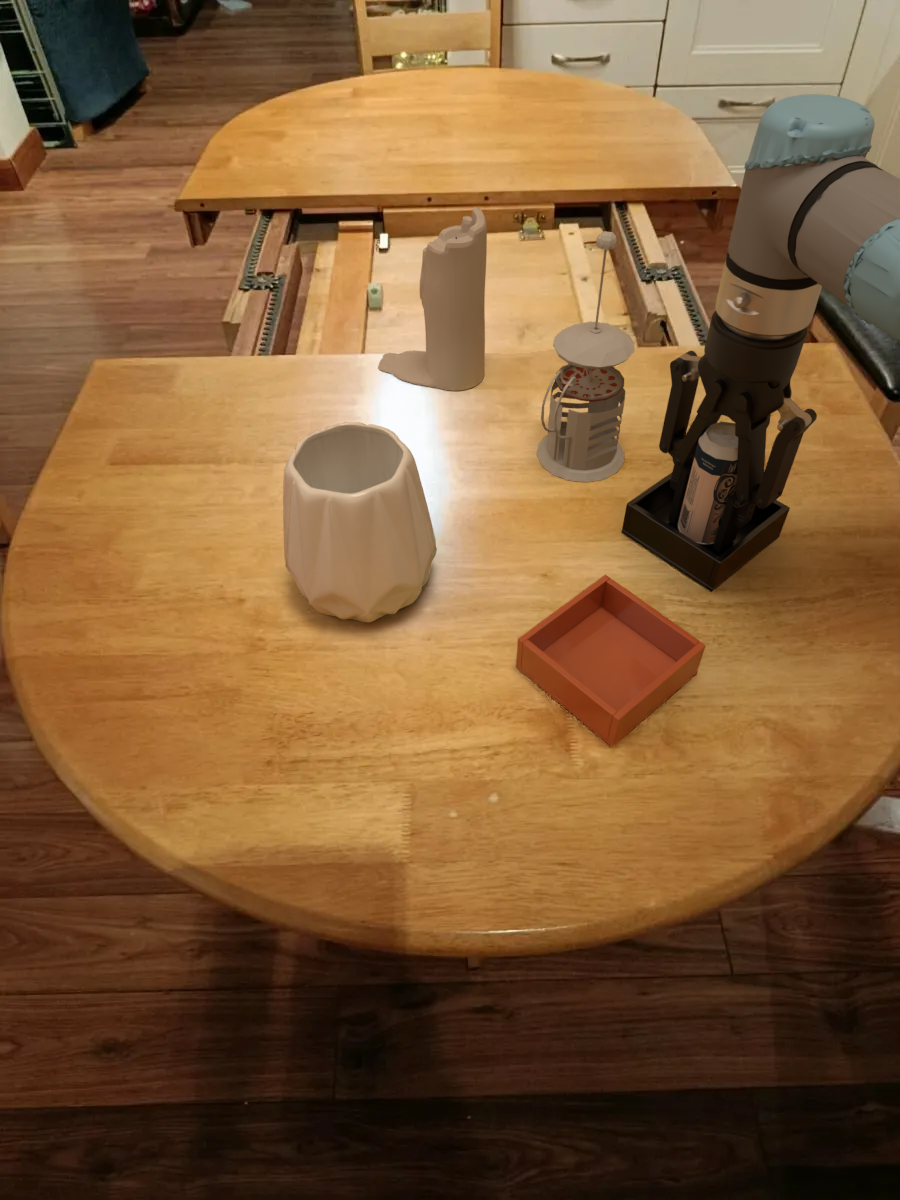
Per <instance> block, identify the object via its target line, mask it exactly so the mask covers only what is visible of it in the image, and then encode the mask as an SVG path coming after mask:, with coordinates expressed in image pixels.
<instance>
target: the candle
mask: <svg viewBox="0 0 900 1200" xmlns="http://www.w3.org/2000/svg"><path fill="white" fill-rule="evenodd" d="M487 227H488V225H487V220H486V216H485V214H484V213H483V210H482V209H481V208H480V207H476V206H474V207H473V208H472V209H471V216H469V215H464V216H463V217H462V221H461V224H459V225H451V226H448V227H446V228H444V229H442V230H441V231H440V232H439V234H438V237H437V238H434V239H433V240H432V241H430V242H428V243H427V245H426V247H424V248H423V249H422V258H421V261H422V262H421V269H420V277H419V298H420V300H421V306H422V309H423V316H424V327H425V330H424V331H425V351H423V350H407V351H403V352H399V353H397V352H396V353H395V352H388V353H384V354H383V355H382V358H381V359H380V361H379V362H378V366H377V368H378V369H379V371H382V372H384V373H387V374H391V375H393V376H394V377H396V378H397V379H398V380H401V381H404V382H407V383H410V384H413V385H416V386H417V385H419V386H423V387H430V388H435V389H440V390H445V391H452V392H453V391H454V392H459V391H467V390H470V389H472V388H474V387H476V386H478V385H479V384H480V383H482V381H483V380H484V377H485V366H486V365H485V362H486V361H485V360H486V359H485V358H486V353H485V352H486V321H485V320H486V317H485V313H486V312H485V310H486V309H485V307H486V306H485V297H486V275H487V273H486V272H487V253H488V252H487V251H488V250H487V248H488V247H487V244H488V242H487V241H488V228H487Z"/></svg>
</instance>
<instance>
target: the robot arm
mask: <svg viewBox="0 0 900 1200" xmlns="http://www.w3.org/2000/svg"><path fill="white" fill-rule="evenodd" d="M875 124H876V123H875V118H874V117H873V115H872V113H871V111H870V110H869V109H868V107H866V106H865V105H864V104H862V103H860V102H858V101H855V100H852V99H849V98H846V97H841V96H836V95H831V94H818V93H816V94H815V93H809V94H808V93H807V94H806V93H805V94H798V95H791V96H786V97H783V98H781V99H779V100H777V101H775V102H773V103H772V104H770V105H769V106H768V107H767V108H766V109H765V110H764V112H763V113H762V115H761V116H760V119H759V122H758V124H757V128H756V131H755V134H754V139H753V142H752V145H751V148H750V151H749V155H748V158H747V160H746V161H745V163H744V167H743V169H744V175H743V179H742V184H741V188H740V194H739V198H738V202H737V206H736V211H735V216H734V220H733V224H732V230H731V233H730V238H729V242H728V247H727V253H726V257H725V260H724V264H723V267H722V273H721V277H720V281H719V286H718V291H717V295H716V299H715V303H714V309H715V311H714V312H713V314H712V315H711V318H710V323H709V327H708V331H707V336H706V339H705V340H706V341H705V344H704V354H703V355H702V356H698V354H697V353H696V351H695V350H688V351H686V352H685V353H683V354H682V355H680V356H678V357H677V358H675V359H673V360H672V361H671V362H670V364H669V371H670V380H671V386H670V391H669V396H668V400H667V406H666V409H665V410H666V411H665V414H664V420H663V424H662V429H661V434H660V438H659V444H658V448H659V450H660V452H662V454H668V455H670V457H671V458H672V463H673V468H672V471H671V473H672V476H671V480H670V487H671V488H672V489H674V490H675V494H674V498H673V503H672V507H671V511H670V515H669V519H668V521H670V522H672V523H673V524H675V523H676V522H678V521H679V517H680V513H681V509H682V505H683V501H684V497H685V493H686V489H687V485H688V481H689V477H690V473H691V469H692V465H693V461H694V457H695V453H696V449H697V445H698V441H699V437H700V436H701V435H703V433H704V432H705V431H706V429H707V428H708V427H709V426H710V425H712V424H715V423H718V422H719V420H720V418H721V417H722V416H723V417H727V418H729V419H730V420H731V421H732V423H735V436H736V437H738V463H737V492H736V493H734V494H733V495H731V496H730V497H729V498H728V499H727V502H726V505H725V509H724V512H723V515H722V519H721V522H720V526H719V529H718V532H717V536H716V539H715V542H714V546H713V549H715V550H716V551H718V552H720V551H721V550H723V549H724V548H725V547H726V546H728V545H729V544H730V543H731V542H733V541H734V540H735V539H736V536H737V533H738V530H739V529H740V528H741V527H742V526H744V525H745V524H746V523H748V522H749V521H750V520H751V518H752V515H753V512H754V509H755V506H757V507H758V508H760V509H764V508H766V507H767V506H769V505H770V504H771V503H772V502H774V501H775V500H777V499H779V498H780V497H781V496H782V495H783V492H784V489H785V486H786V483H787V481H788V478H789V475H790V473H791V471H792V467H793V464H794V461H795V459H796V457H797V453H798V451H799V447H800V445H801V442H802V439H803V436H804V434H805V432H806V431H807V430H808V429H809V428H810V427H811V426H812V424H814V423H815V421H816V420H817V418H818V415H817V414H818V413H816V411H815V410H814V409H812V408H805V410H803V409H802V408H801V407H800V406H799V405H798V404H797V403H796V402H795V401H794V400H793V399H792V394H793V393H792V387H791V380H792V377H793V376H794V375H793V374H794V373H795V370H796V368H797V365H798V363H799V359H800V356H801V353H802V349H803V347H804V344H805V340H806V338H807V334H808V326H810V324H811V323H812V320H813V318H814V315H815V311H816V308H817V304H818V301H819V298H820V295H821V291H822V288H823V289H824V290H826V291H827V292H828V293H830V295H832V296H833V297H835V299H836V300H838V301H839V302H841V303H842V304H843V305H844V306H846V307H847V308H848V309H849V310H850V311H851V312H852V313H853V314H855V316H856V317H857V319H858V320H861V321H863V322H865V323H866V324H867V325H873V326H875V328H877V329H880V331H883V332H884V333H886V334H887V335H890V336H891V337H892V338H894V339H896V340H897V341H900V178H899V177H897V176H896V175H894V174H891V173H890V172H888V171H886V170H884V169H882V168H881V167H880V166H878V165H877V164H875V163H874V162H872V161H870V160H869V159H867V155H868V153H869V152H870V150H871V149H872V147H873V146H872V139H873V133H874V130H875ZM699 380H701V383H702V386H703V390H704V392H705V395H704V397H703V399H702V401H701V403H700V405H699V406H698V408H697V409H696V413H697V414H696V416H695V417H694V419H693V421H692V422H691V424H690V427H689V423H690V419H691V415H692V410H693V407H694V404H695V403H694V402H695V398H696V394H697V391H698V389H697V388H698V385H699ZM775 412H778V414H779V416H780V417H779V420H778V424H777V426H776V428H777V430H778V431H779V432H778V434H777V435H776V437H775V439H774V441H773V444H772V446H771V450H770V453H769V456H768V459H767V462H766V449H767V448H766V447H767V445H766V444H767V429H768V428H769V426H770V423H771V414H774V413H775ZM765 464H766V466H765Z"/></svg>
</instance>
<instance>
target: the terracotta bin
mask: <svg viewBox="0 0 900 1200" xmlns="http://www.w3.org/2000/svg"><path fill="white" fill-rule="evenodd" d="M516 646H517V647H516V659H515V660H516V661H515V667H516V669H517V670H519V671H520V672H521V673H522V674H523V675H525V676H526V677H527V678H529V680H531V681H532V682H533V683H534V684H535V685H537V686H538V687H539V688H540V689H541V690H543V691H544V692H545V693H546V694H548V695H549V697H551V698H552V699H553V700H554V701H556V702H557V703H558V704H559V705H560V706H562V708H564V709H565V710H566V711H568V712H569V713H570V714H571V715H573V716H574V717H575V718H576V719H578V720H579V722H581V723H582V724H584V725H585V726H586V727H587V729H589V730H591V731H592V732H593V733H594V734H595V735H596V736H598V737H599V738H600V739H602V740H603V741H604V742H605V743H606V745H607V744H608V745H609V746H610V747H611V748H613V747H614V746H615V745H617V744H618V743H619V742H620V741H622V739H624V738H625V737H626V736H627V735H629V734H630V733H631V732H632V731H633V730H634V729H635V728H637V726H639V725H640V724H641V723H642V722H643V721H644V720H645V719H646V718H648V717H649V716H650V715H651V714H652V713H654V712H655V711H656V710H657V709H658V708H659V707H661V706H662V705H663V704H664V703H665V702H666V701H667V700H668V699H670V698H671V697H672V696H673V695H674V694H675V693H677V692H678V690H680V689H681V688H682V687H683V686H685V684H687V683H688V682H689V681H690V680H692V679H693V677H695V676H696V675H697V674H698V671H699V669H700V668H699V667H700V664H701V662H702V659H703V655H704V653H705V649H706V644H705V643H704V642H702V641H701V640H699V639H698V638H697V637H696V636H694V635H692V634H691V633H689V632H688V631H686V630H685V629H684V628H682V626H679V625H678V624H677V623H675V622H674V621H672V620H671V619H669V618H668V617H667V616H665V615H664V614H663V613H662V612H659V611H658V610H657V609H655V608H654V607H652V606H651V605H649V604H648V603H646V602H645V601H644V600H643V599H641V598H639V597H638V595H636V594H634V593H632V592H631V591H630V590H629V589H627V588H625V587H624V586H622V585H621V584H620V583H618V582H617V581H615V580H614V579H612V577H611V576H608V574H604V575H602V576H601V577H599V578H598V579H597V580H596V581H594V582H593V583H591V584H590V585H589V586H588V587H586V588H585V589H583V590H582V591H581V592H579V593H578V594H576V595H575V596H574V597H573V598H571V599H570V600H568V601H567V602H566V603H564V604H563V605H561V606H560V607H558V609H556V610H555V611H553V612H552V613H551V614H549V615H548V616H546V617H545V618H544V619H542V620H541V621H539V622H538V623H537V624H536V625H534V626H533V627H531V628H530V629H529V630H528V631H527V632H525V633H523V634H522V635H521V636H519V637H518V638H517V645H516Z"/></svg>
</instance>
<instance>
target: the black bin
mask: <svg viewBox="0 0 900 1200" xmlns="http://www.w3.org/2000/svg"><path fill="white" fill-rule="evenodd" d="M671 476H672V472H670V473H668V474H667V475H666V476H664V477H663V478H661V479H660V480H658V481H657V482H655V483H654V484H653V485H651V486H650V487H649V488H647V489H645V490H644V491H642V493H640V494H638V495H637V496H635V497H634V498H632V499H631V500H630V501H628V502H627V503H626V505H625V510H624V518H623V521H622V526H621V534H623V535H624V536H626V537H627V538H628V539H630V540H632V541H634V542H635V543H636V544H638V545H639V546H641V547H643V549H645V550H646V551H648V552H650V553H651V554H653V555H655V556H656V557H657V558H659V559H660V560H662V561H663V562H664V563H666V564H668V565H669V566H671V567H672V568H674V569H675V570H676V571H678V572H680V573H681V574H683V575H684V576H686V577H687V578H689V579H690V580H692V581H694V582H695V583H697V584H698V585H700V586H701V587H703V588H704V589H705V590H707V591H708V592H710V593H713V592H714V591H715V590H716V589H717V588H719V587H720V586H721V585H722V584H724V583H725V582H727V580H729V579H730V578H731V577H732V576H733V575H735V574H736V573H737V572H738V571H739V570H741V569H742V568H743V567H744V566H746V565H747V564H748V563H749V562H751V561H752V560H753V559H754V558H755V557H757V556H758V555H759V554H761V553H762V552H763V551H764V550H766V549H767V548H768V547H769V546H770V545H771V544H773V543H774V542H776V540H777V539H779V538H780V537H781V533H782V531H783V528H784V526H785V523H786V521H787V517H788V515H789V512H790V509H791V507H790V506H788V505H786V503H783V502H781V501H780V500H777V499H776V500H775V501H774V502H772V503H771V504H770V505H769V506H767V507H766V508H764V509H760V508H758V507H757V506H755V509H754V512H753V515H752V518H751V520H750V521H749V522H748V523H746V524H745V525H744V526H742V527H741V528H740V529H739V530H738V533H737V536H736V539H735V540H734V541H733V542H731V543H730V544H729V545H728V546H726V547H725V548H724V549H723V550H721V551H720V552H718V551H716V550H715V549H713V546H714V544H698V543H696V542H695V541H693V540H692V539H690V538H689V537H687V536H685V535H684V534H682V533H681V532H680V531H679V529H678V522H676V523H675V524H673V523H672V522H670V521H668V519H669V515H670V511H671V507H672V503H673V498H674V494H675V490H674V489H672V488H671V487H670V480H671Z"/></svg>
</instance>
